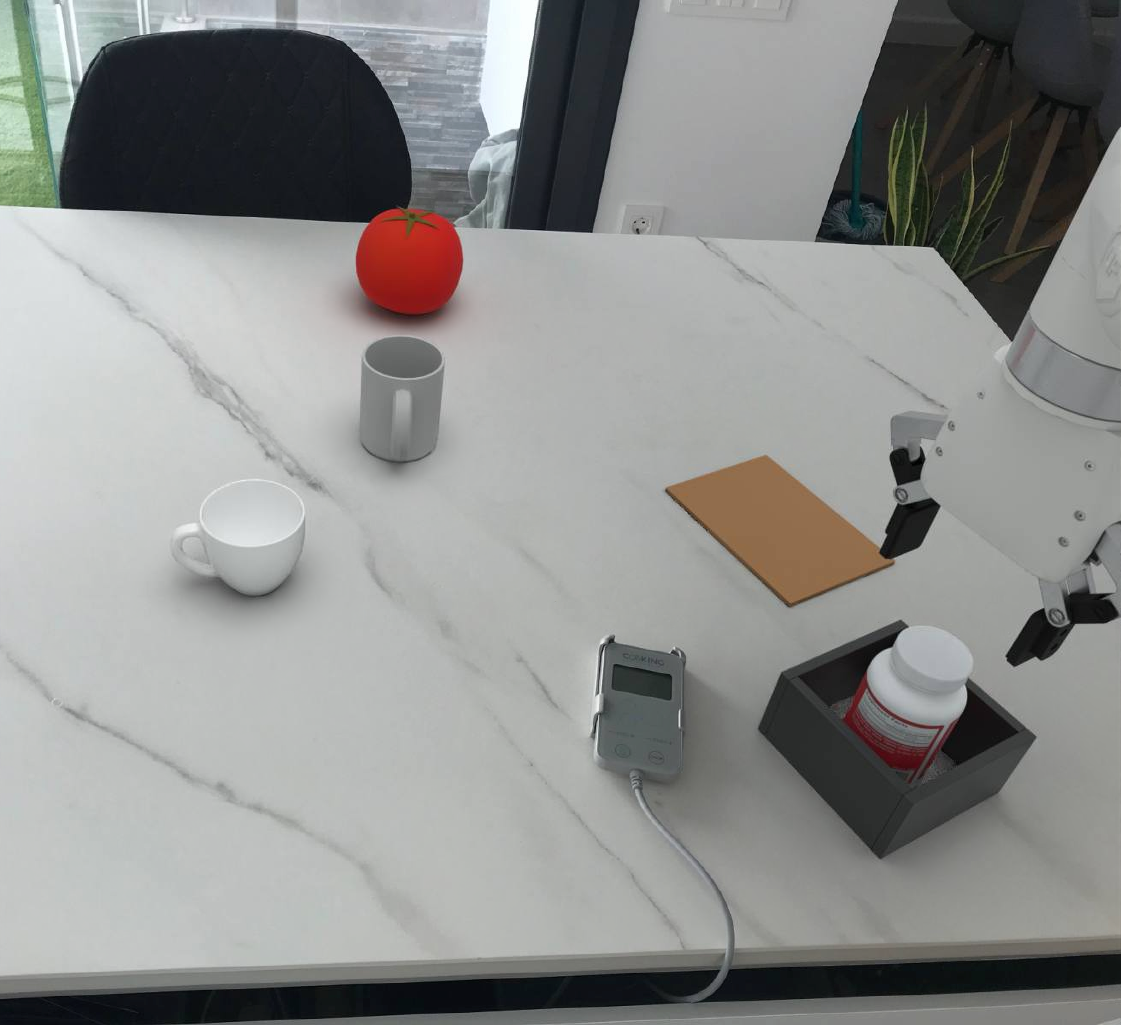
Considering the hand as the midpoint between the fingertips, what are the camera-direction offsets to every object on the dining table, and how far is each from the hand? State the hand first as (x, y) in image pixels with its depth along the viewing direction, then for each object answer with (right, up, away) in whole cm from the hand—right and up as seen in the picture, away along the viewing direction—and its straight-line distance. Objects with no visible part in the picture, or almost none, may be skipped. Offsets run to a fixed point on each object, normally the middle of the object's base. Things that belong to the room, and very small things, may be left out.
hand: (959, 601), depth 65 cm
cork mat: (-2, +4, +28) cm, 29 cm away
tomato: (-35, +28, +53) cm, 69 cm away
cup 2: (-35, +11, +33) cm, 49 cm away
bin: (-1, -12, +9) cm, 15 cm away
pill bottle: (-1, -12, +10) cm, 15 cm away
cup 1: (-47, 0, +19) cm, 50 cm away
